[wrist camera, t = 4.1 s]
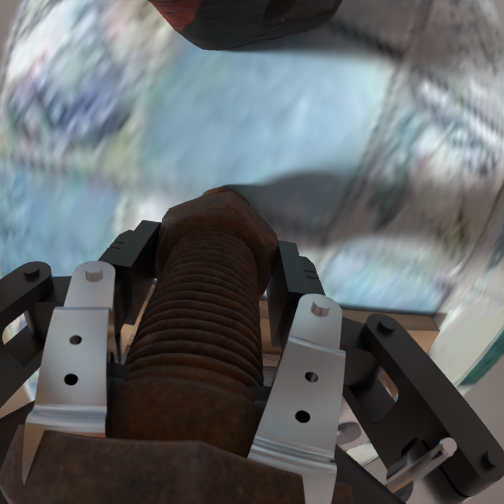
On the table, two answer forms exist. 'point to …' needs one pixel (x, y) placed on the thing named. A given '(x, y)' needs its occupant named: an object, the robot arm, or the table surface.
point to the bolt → (180, 382)
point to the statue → (242, 19)
